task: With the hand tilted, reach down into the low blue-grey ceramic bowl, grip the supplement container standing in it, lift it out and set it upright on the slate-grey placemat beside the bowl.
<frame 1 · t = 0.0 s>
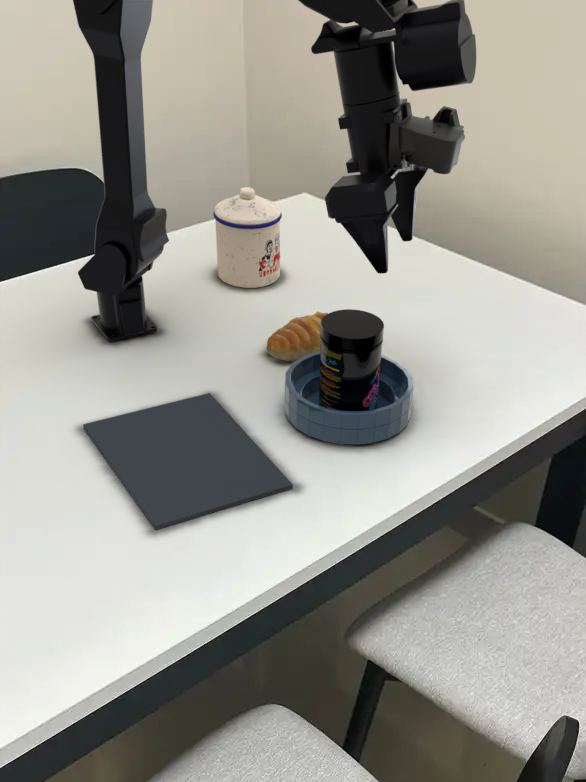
hand: (395, 256, 104), 15 cm above the table, tool pointing down, fingers open, 9 cm apart
placemat: (185, 457, 101), on the table
bowl: (347, 412, 109), on the table
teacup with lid: (252, 272, 135), on the table
supplement container: (347, 411, 109), resting on bowl
pastry: (306, 350, 120), on the table
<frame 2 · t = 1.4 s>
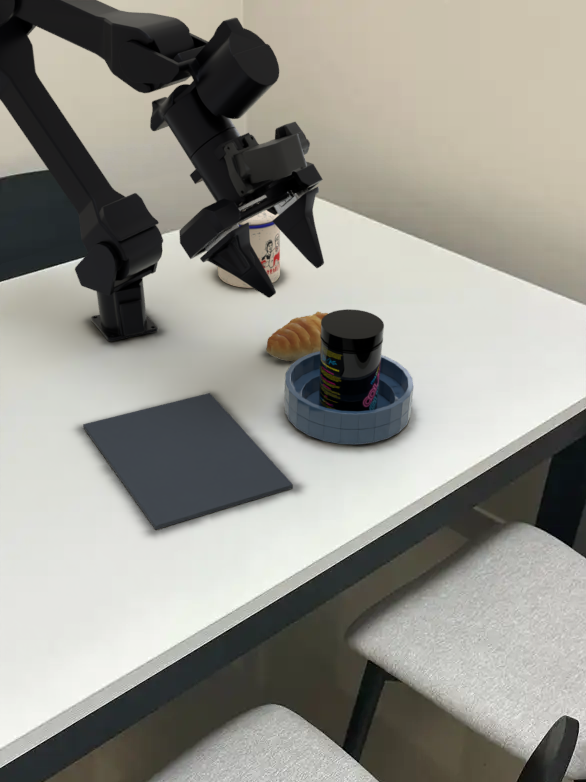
hand: (297, 280, 103), 13 cm above the table, tool tilted 45°, fingers open, 9 cm apart
nothing on the table moved.
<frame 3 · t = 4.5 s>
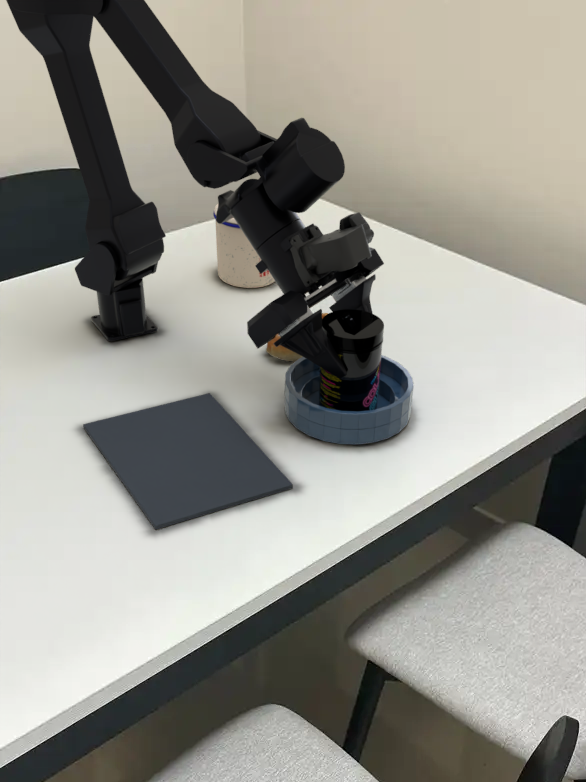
hand: (361, 363, 104), 7 cm above the table, tool tilted 45°, fingers closed on supplement container, 7 cm apart
supplement container: (347, 411, 109), resting on bowl, touching gripper
everything else where it was.
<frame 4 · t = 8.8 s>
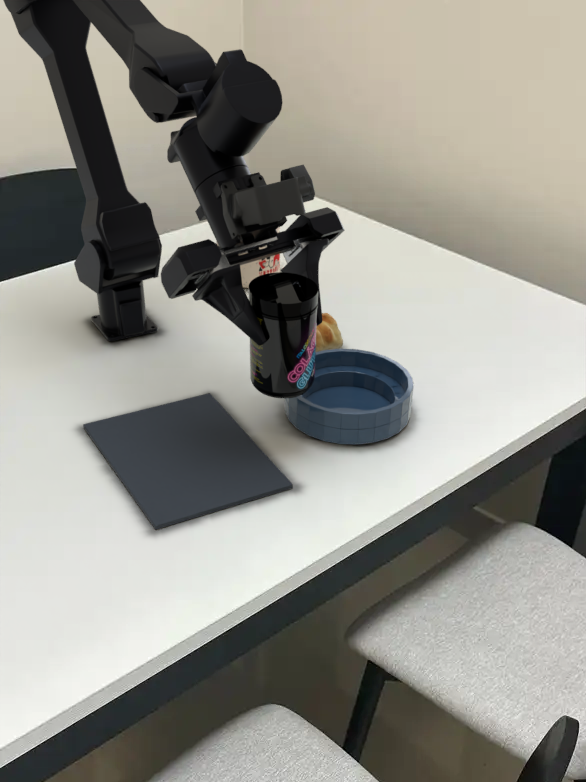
hand: (291, 334, 94), 13 cm above the table, tool tilted 45°, fingers closed on supplement container, 7 cm apart
supplement container: (282, 385, 99), point 7 cm above the table, touching gripper
everything else where it was.
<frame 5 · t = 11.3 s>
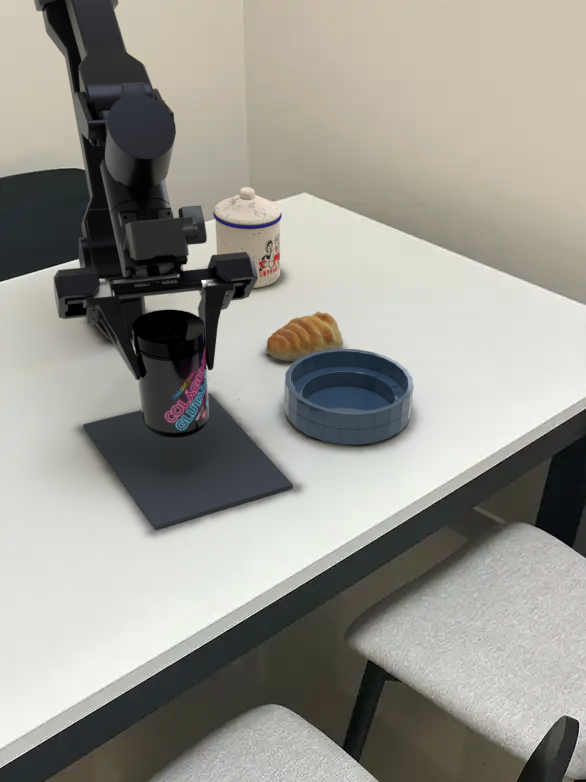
hand: (174, 373, 92), 11 cm above the table, tool tilted 45°, fingers closed on supplement container, 7 cm apart
supplement container: (176, 423, 97), point 5 cm above the table, touching gripper
everything else where it was.
when the fingers open (7 cm above the table, at t = 13.2 s): supplement container stays where it is, resting on placemat.
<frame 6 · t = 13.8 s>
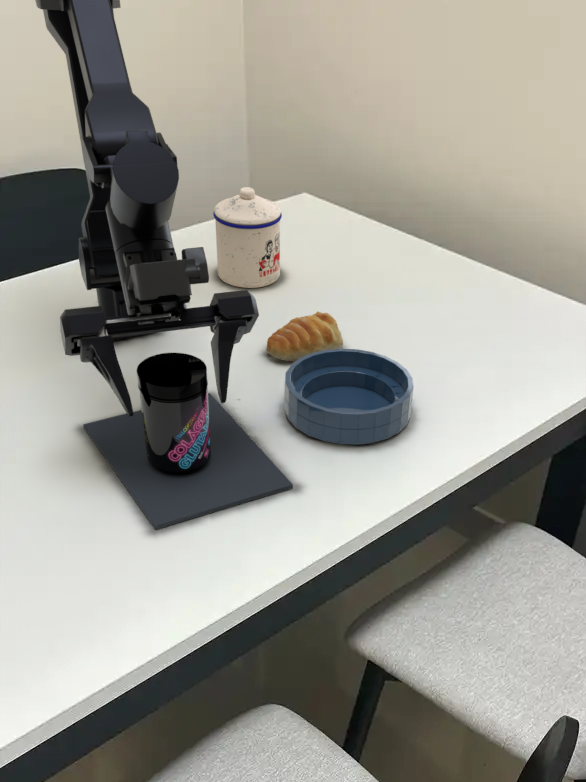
hand: (178, 408, 94), 8 cm above the table, tool tilted 45°, fingers open, 9 cm apart
supplement container: (179, 461, 100), resting on placemat
everything else where it was.
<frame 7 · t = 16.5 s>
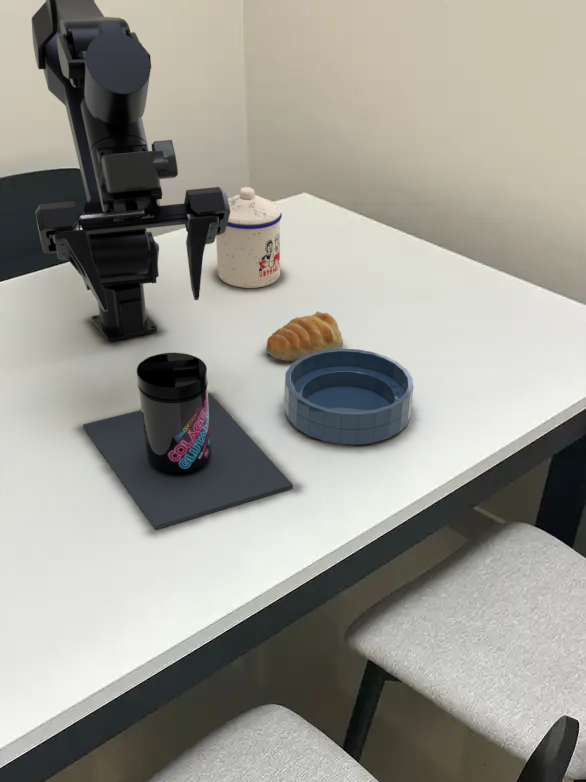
hand: (151, 304, 97), 14 cm above the table, tool tilted 45°, fingers open, 9 cm apart
nothing on the table moved.
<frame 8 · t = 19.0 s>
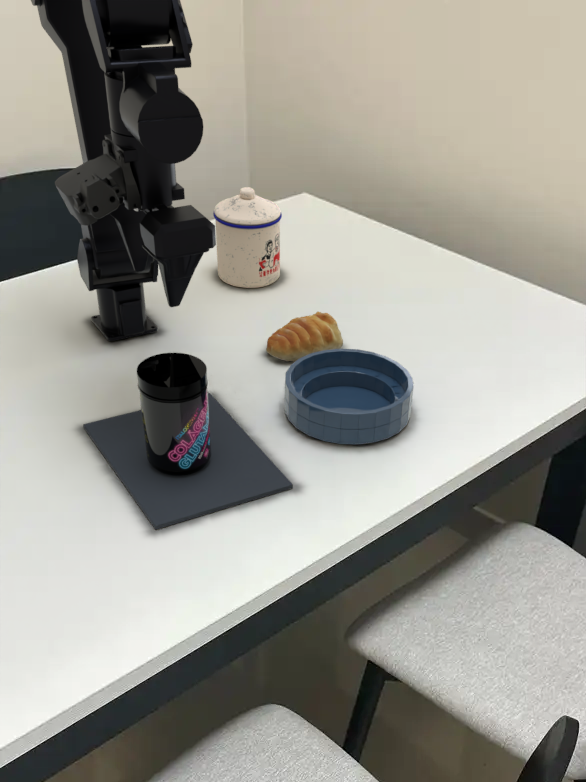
hand: (156, 288, 101), 13 cm above the table, tool pointing down, fingers open, 9 cm apart
nothing on the table moved.
at the end: supplement container inside the target area on the placemat (1.3 cm from its centre), point 0.3 cm above the placemat's base; supplement container tilted 0°; the gripper is holding nothing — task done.
